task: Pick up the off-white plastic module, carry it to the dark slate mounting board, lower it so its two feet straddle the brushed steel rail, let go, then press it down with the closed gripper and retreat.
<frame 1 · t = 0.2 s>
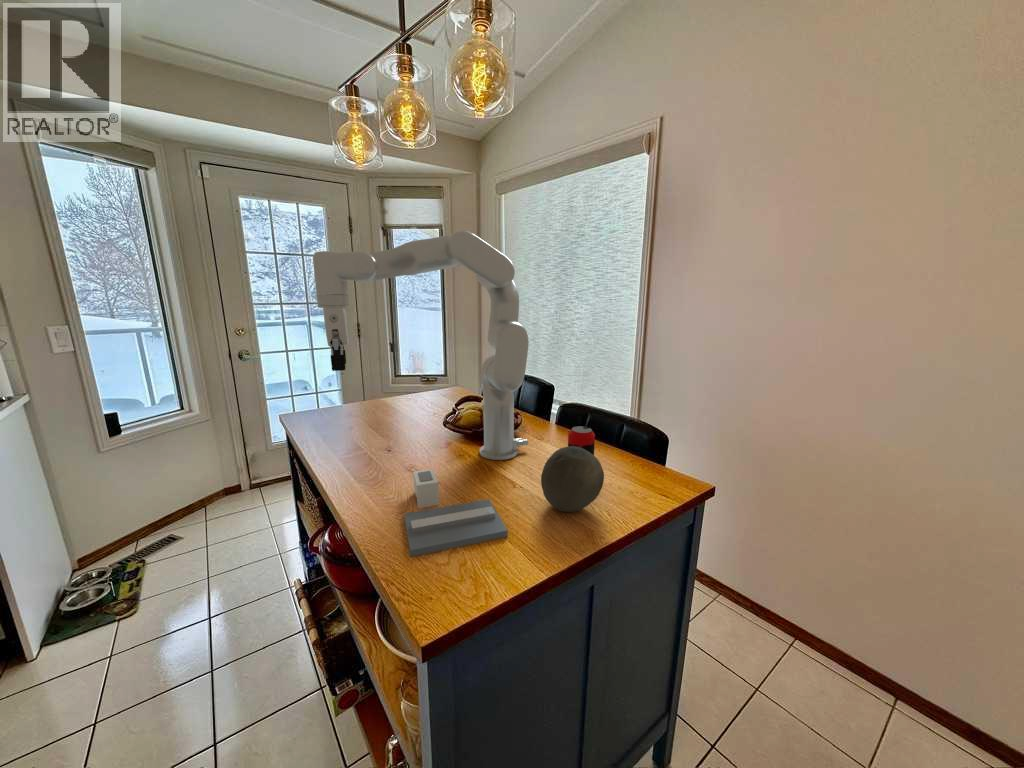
hand: (339, 367, 107), 31 cm above the table, tool pointing down, fingers open, 9 cm apart
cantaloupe: (570, 508, 96), on the table
steel rail: (453, 519, 87), on the mounting board, point 2 cm above the table
mounting board: (454, 527, 88), on the table
soda can: (580, 468, 118), on the table
module: (426, 498, 100), on the table
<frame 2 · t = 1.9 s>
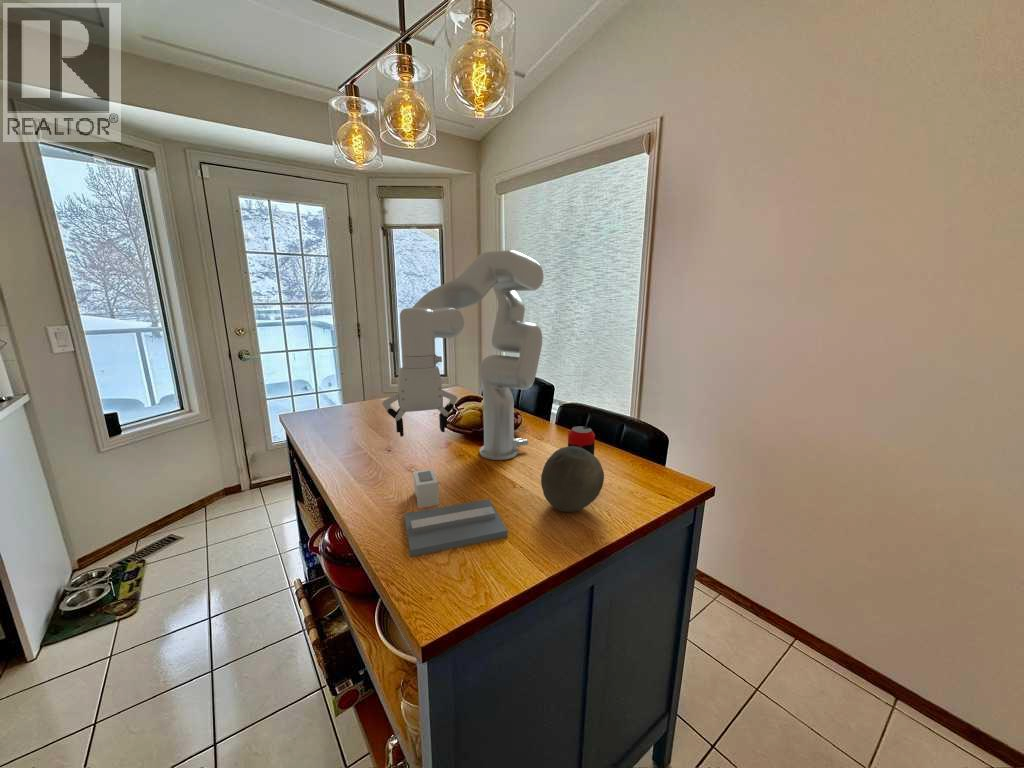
hand: (422, 432, 96), 18 cm above the table, tool pointing down, fingers open, 9 cm apart
nothing on the table moved.
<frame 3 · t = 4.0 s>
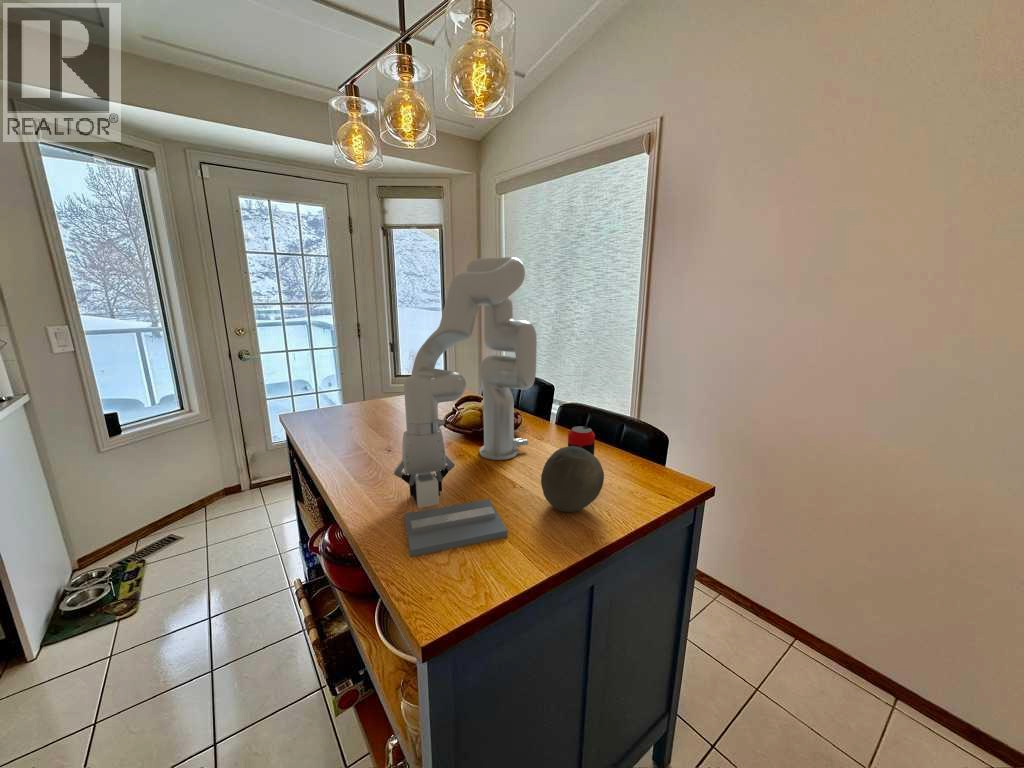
hand: (426, 495, 100), 1 cm above the table, tool pointing down, fingers closed on module, 5 cm apart
module: (426, 498, 100), on the table, touching gripper
everything else where it was.
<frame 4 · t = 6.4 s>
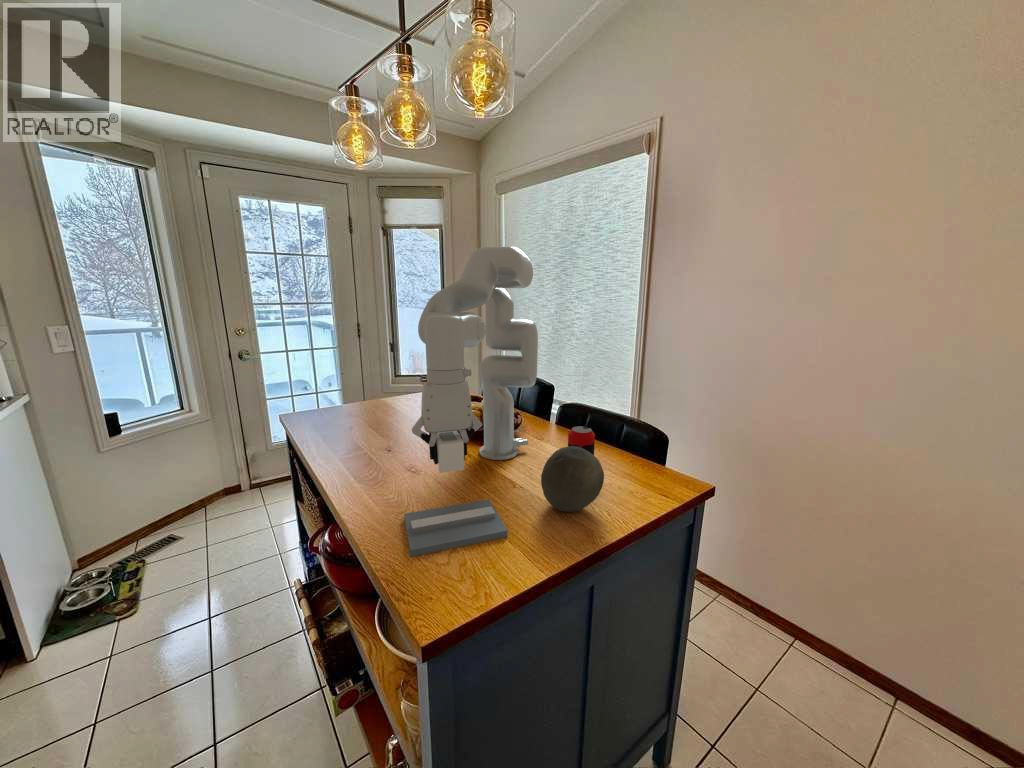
hand: (448, 459, 85), 16 cm above the table, tool pointing down, fingers closed on module, 5 cm apart
module: (448, 463, 85), point 15 cm above the table, touching gripper
everything else where it was.
when the fingers open (3 cm above the table, at t = 8.7 s): module stays where it is, resting on mounting board.
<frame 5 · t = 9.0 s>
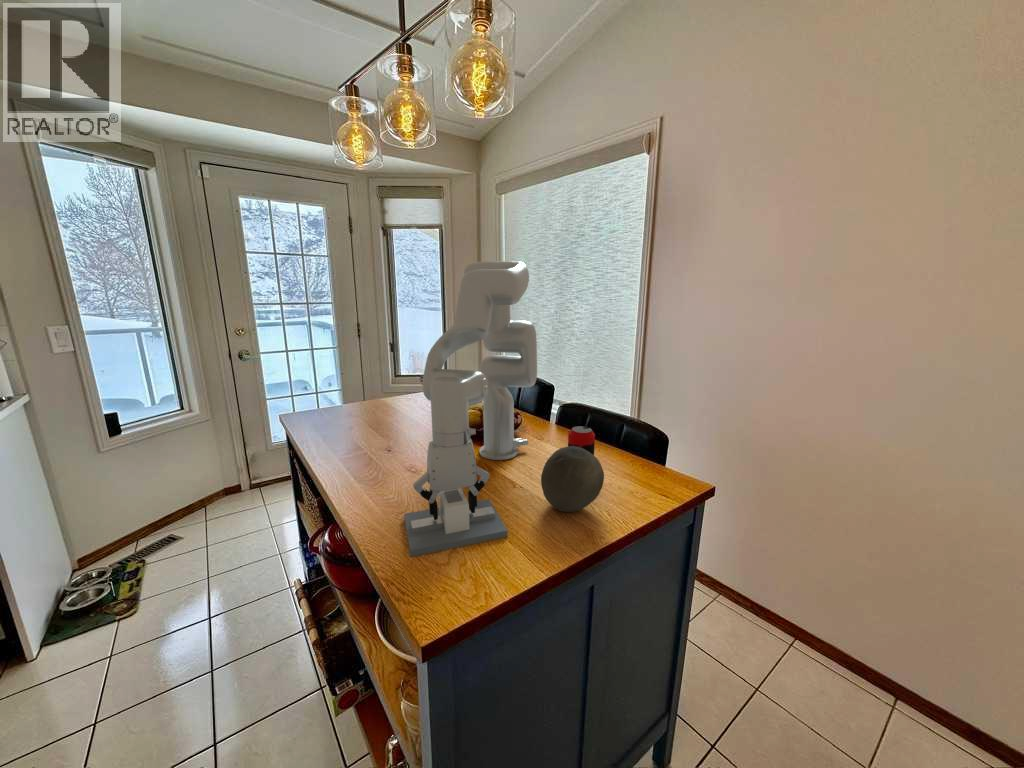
hand: (453, 512, 87), 4 cm above the table, tool pointing down, fingers open, 7 cm apart
module: (454, 521, 88), point 1 cm above the table, touching mounting board
everything else where it was.
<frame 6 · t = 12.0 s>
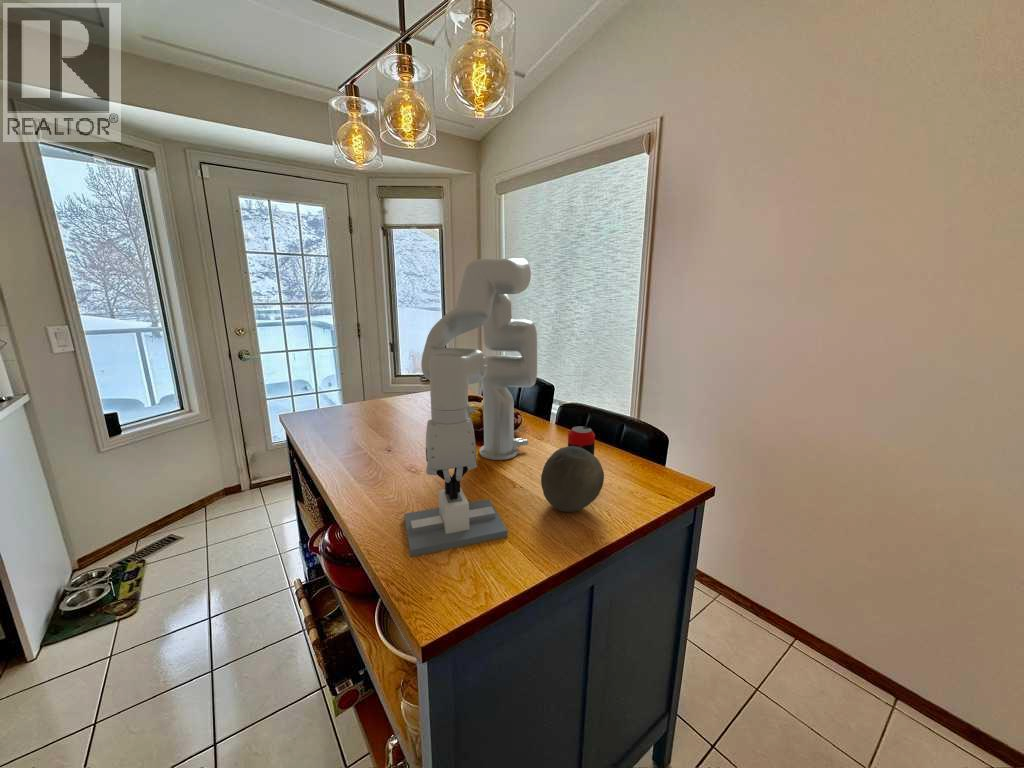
hand: (452, 496, 86), 8 cm above the table, tool pointing down, fingers closed
module: (454, 521, 88), point 1 cm above the table, touching gripper, mounting board
everything else where it was.
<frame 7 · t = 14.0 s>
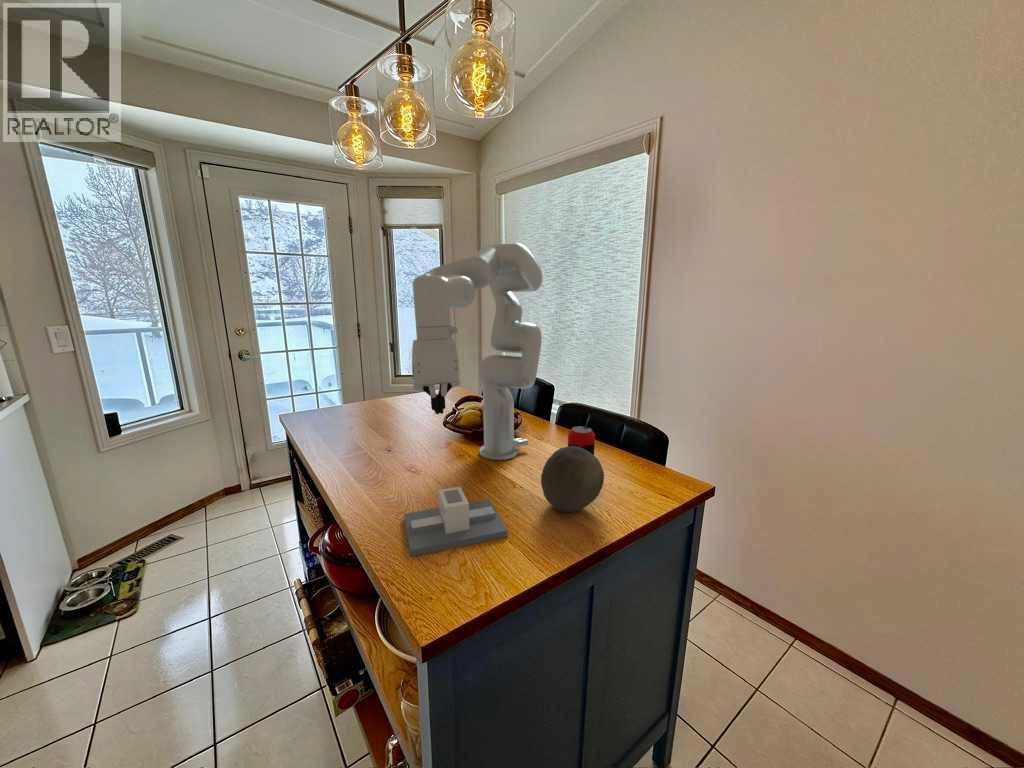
hand: (438, 412, 93), 23 cm above the table, tool pointing down, fingers closed
module: (454, 521, 88), point 1 cm above the table, touching mounting board
everything else where it was.
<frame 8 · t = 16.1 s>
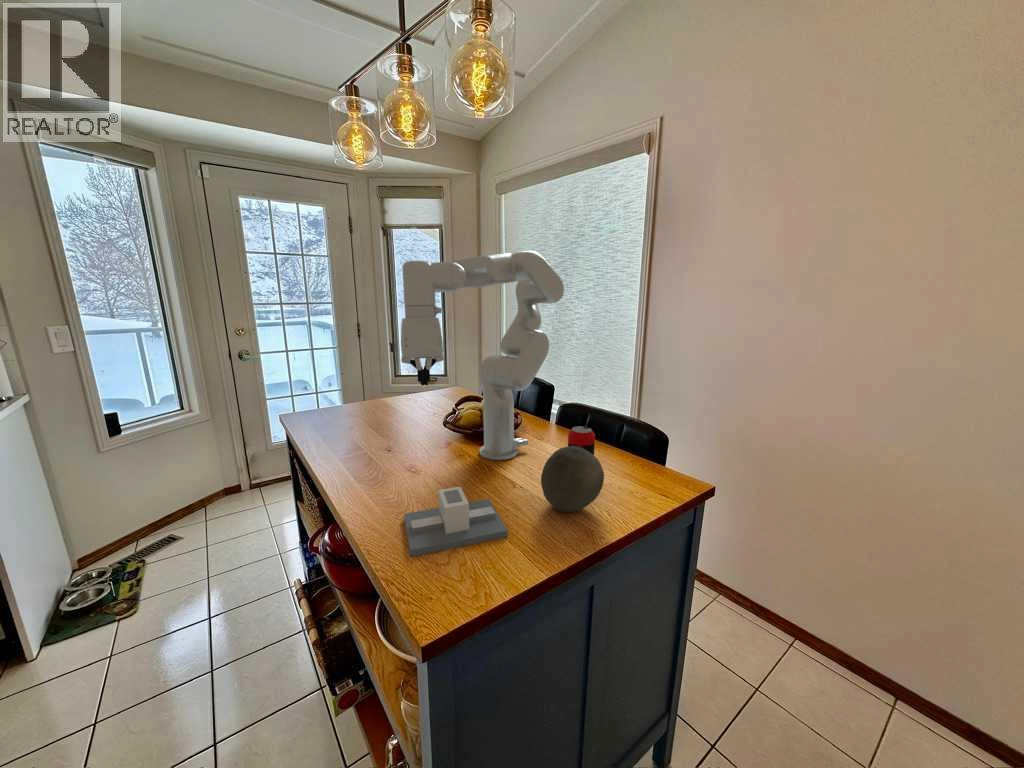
hand: (424, 384, 104), 27 cm above the table, tool pointing down, fingers closed
nothing on the table moved.
at the end: module 0.0 cm off-centre on the mounting board, point 1.5 cm above the mounting board's base; module tilted 0°; the gripper is holding nothing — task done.
